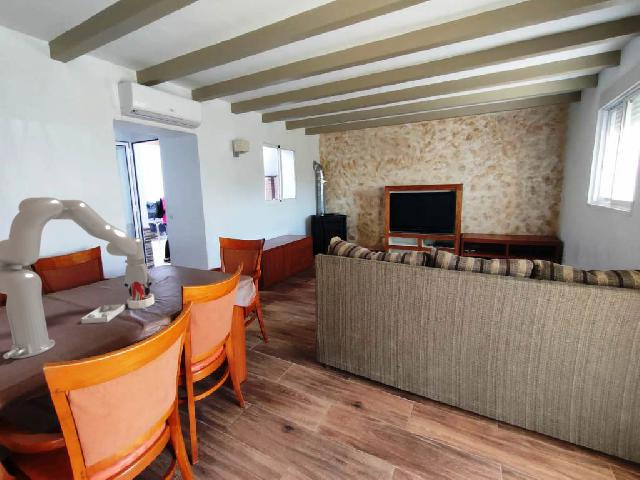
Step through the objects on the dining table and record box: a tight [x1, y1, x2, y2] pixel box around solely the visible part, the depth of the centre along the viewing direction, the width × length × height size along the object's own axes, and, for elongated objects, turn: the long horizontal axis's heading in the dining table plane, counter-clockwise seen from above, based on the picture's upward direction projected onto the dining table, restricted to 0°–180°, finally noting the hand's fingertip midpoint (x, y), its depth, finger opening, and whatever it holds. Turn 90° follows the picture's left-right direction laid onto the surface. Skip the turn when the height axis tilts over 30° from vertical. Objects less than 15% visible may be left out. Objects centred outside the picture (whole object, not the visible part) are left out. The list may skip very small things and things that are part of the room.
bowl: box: [126, 293, 155, 310], centre depth 158 cm, size 12×12×4 cm
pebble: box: [102, 304, 110, 311], centre depth 149 cm, size 3×3×3 cm
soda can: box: [131, 280, 148, 301], centre depth 157 cm, size 7×7×12 cm
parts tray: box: [80, 303, 126, 325], centre depth 144 cm, size 16×11×2 cm
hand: (140, 294), depth 157 cm, fingers closed on soda can, 7 cm apart
